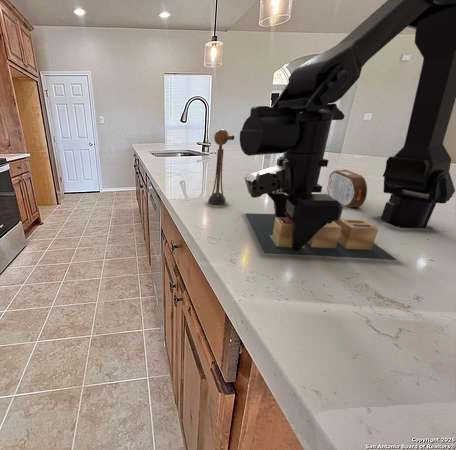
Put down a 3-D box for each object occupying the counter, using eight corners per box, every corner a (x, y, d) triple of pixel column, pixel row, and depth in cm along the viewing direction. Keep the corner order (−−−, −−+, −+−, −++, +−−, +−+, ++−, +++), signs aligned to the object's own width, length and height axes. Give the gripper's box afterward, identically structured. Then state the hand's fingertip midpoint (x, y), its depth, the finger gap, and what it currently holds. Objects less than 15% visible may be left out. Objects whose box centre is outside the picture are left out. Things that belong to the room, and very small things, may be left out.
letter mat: (334, 217, 57) (334, 215, 57) (396, 263, 39) (397, 259, 39) (245, 215, 60) (245, 212, 60) (264, 256, 42) (264, 252, 42)
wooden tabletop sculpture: (231, 205, 68) (239, 128, 60) (221, 209, 65) (227, 129, 57) (214, 201, 72) (219, 128, 64) (204, 204, 69) (208, 129, 62)
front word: (357, 239, 45) (364, 219, 44) (371, 250, 42) (379, 228, 40) (302, 237, 47) (306, 217, 45) (311, 247, 43) (316, 226, 42)
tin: (362, 212, 60) (373, 178, 56) (348, 211, 60) (357, 178, 57) (334, 195, 73) (341, 167, 70) (322, 195, 74) (329, 167, 70)
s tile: (294, 236, 47) (298, 217, 46) (301, 246, 43) (306, 225, 42) (272, 235, 48) (275, 216, 46) (278, 245, 44) (281, 224, 43)
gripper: (242, 147, 49) (235, 218, 55) (264, 160, 32) (250, 261, 38) (302, 146, 47) (288, 220, 53) (359, 159, 30) (328, 266, 36)
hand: (286, 238), depth 45 cm, fingers open, 9 cm apart
